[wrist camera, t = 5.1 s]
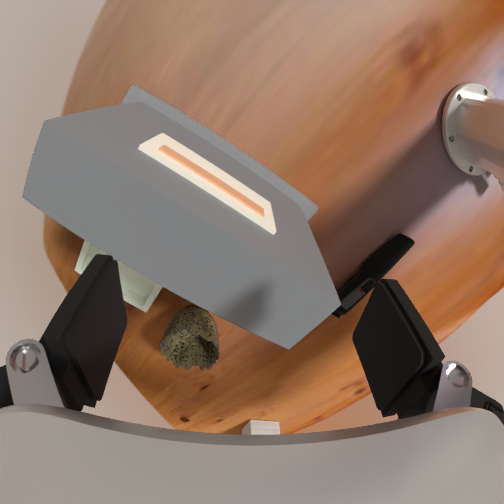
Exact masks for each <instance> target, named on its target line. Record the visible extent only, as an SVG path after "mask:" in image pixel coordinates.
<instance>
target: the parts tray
mask: <svg viewBox="0 0 504 504" xmlns="http://www.w3.org/2000/svg"><path fill="white" fill-rule="evenodd" d="M96 254H104V255H108V254H106V253H104V252H103V251H101V250H100V249H98V248H96V247H95V246H93V245H92V244H90V243H88V242H87V241H84V244H83V246H82V249H81V252H80V255H79V258H78V261H77V265H76V268H75V271H76V272H78V273H79V274H82V273H83V271H84V270H85V269H86V267H87V266H88V264H89V263H90V261H91V260H92V259H93V257H94V256H95V255H96ZM113 259H114V258H113ZM114 260H116V259H114ZM117 262H118V268H119V275H120V281H121V287H122V293H123V299H124V301H126V302H128V303H130V304H131V305H133V306H135V307H137V308H139V309H140V310H142V311H144V312H147V311H148V309H149V308H150V306H151V305H152V303H153V301H154V300H155V298H156V297H157V295H158V294H159V292H160V291H161V289H162V286H160V285H159V284H157V283H155V282H153V281H152V280H150V279H148V278H146V277H145V276H143V275H141V274H139V273H138V272H136V271H134V270H133V269H131V268H129V267H127V266H126V265H124V264H122V263H121V262H119V261H117Z"/></svg>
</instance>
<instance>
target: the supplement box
mask: <svg viewBox="0 0 504 504" xmlns="http://www.w3.org/2000/svg"><path fill="white" fill-rule="evenodd" d="M276 434H280V429H279V422H275V421H263V420H253V419H250V420H249V422H248V423H247V424H246V425H245V426H244V428H243V429H242V435H276Z"/></svg>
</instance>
